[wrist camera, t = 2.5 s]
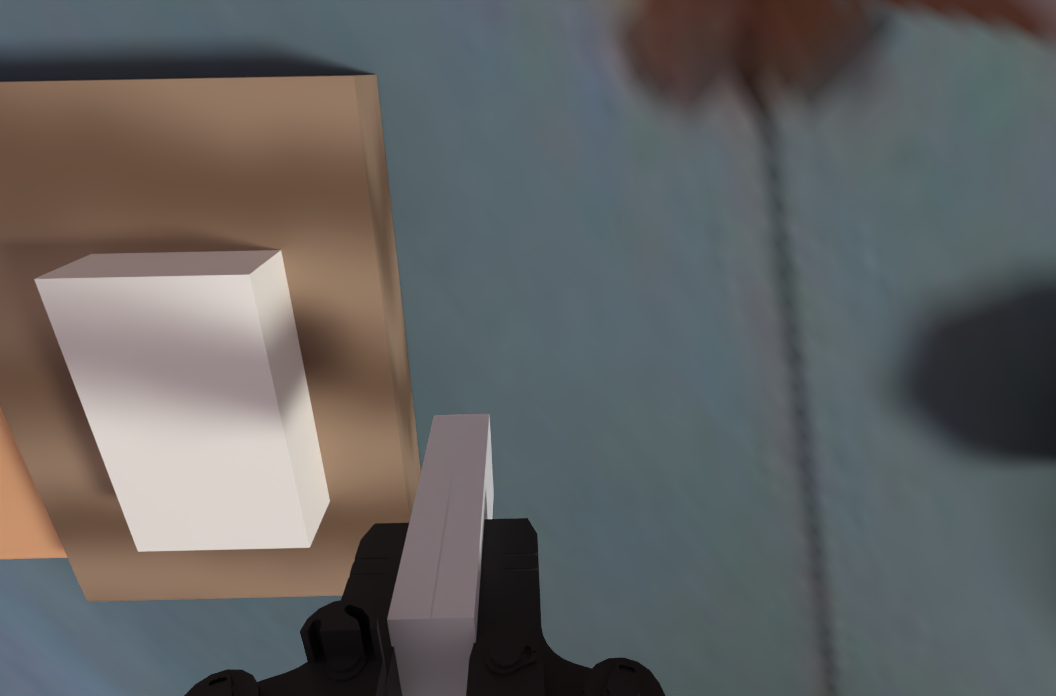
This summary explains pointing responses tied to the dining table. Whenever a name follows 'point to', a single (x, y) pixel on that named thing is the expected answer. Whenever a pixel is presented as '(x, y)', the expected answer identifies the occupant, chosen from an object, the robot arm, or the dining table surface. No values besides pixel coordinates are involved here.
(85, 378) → the cream block
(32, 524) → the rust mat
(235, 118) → the board
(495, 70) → the dining table surface
